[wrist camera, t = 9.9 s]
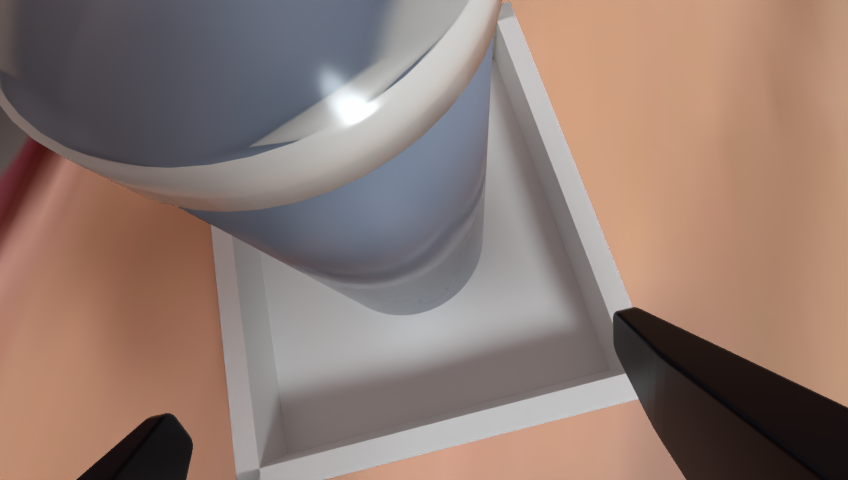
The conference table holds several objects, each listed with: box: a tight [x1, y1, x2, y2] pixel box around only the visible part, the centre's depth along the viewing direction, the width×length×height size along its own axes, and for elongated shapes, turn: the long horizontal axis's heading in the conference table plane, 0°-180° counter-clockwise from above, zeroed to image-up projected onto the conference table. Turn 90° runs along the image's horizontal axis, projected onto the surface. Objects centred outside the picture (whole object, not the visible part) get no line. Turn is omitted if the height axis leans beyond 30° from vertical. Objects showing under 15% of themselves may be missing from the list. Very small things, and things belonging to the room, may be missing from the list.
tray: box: [210, 1, 639, 480], centre depth 17 cm, size 16×14×3 cm
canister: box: [0, 0, 502, 315], centre depth 11 cm, size 7×7×13 cm
